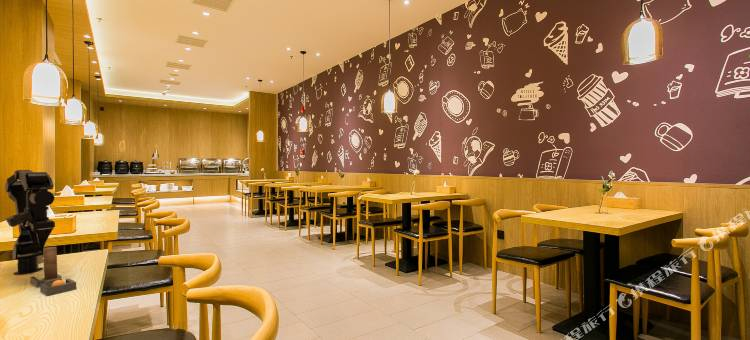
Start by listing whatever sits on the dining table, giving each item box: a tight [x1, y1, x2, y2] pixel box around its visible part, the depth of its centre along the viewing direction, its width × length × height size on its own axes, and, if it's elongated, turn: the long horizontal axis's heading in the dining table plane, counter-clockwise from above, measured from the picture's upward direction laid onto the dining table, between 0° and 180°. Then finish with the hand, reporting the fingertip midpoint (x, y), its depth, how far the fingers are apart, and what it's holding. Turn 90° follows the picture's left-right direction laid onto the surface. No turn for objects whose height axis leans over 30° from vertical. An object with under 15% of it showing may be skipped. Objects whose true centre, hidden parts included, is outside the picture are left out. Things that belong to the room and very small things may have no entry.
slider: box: [40, 246, 63, 287], centre depth 133 cm, size 6×4×13 cm
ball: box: [51, 279, 66, 287], centre depth 128 cm, size 4×4×4 cm
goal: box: [39, 277, 77, 297], centre depth 129 cm, size 8×8×2 cm
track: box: [29, 273, 63, 288], centre depth 137 cm, size 8×7×2 cm
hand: (38, 245), depth 142 cm, fingers open, 9 cm apart
